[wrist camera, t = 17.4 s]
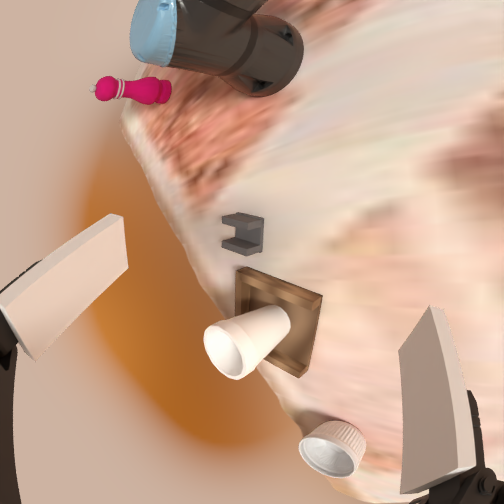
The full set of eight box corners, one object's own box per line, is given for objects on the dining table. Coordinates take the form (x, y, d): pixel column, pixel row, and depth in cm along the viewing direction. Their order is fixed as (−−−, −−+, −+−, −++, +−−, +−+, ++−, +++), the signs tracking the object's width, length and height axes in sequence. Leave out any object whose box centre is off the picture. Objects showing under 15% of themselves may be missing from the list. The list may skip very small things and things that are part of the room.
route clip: (237, 243, 53) (221, 248, 50) (238, 212, 51) (222, 215, 48) (262, 251, 49) (246, 257, 46) (263, 218, 47) (247, 221, 44)
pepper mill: (174, 96, 56) (94, 92, 42) (159, 110, 61) (85, 110, 47) (171, 73, 55) (94, 66, 41) (156, 87, 60) (85, 84, 46)
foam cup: (299, 348, 47) (249, 387, 38) (259, 337, 54) (210, 368, 44) (295, 300, 46) (241, 334, 36) (254, 292, 52) (199, 319, 43)
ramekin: (306, 429, 52) (288, 448, 47) (337, 405, 45) (317, 428, 40) (347, 462, 46) (331, 483, 41) (384, 443, 39) (369, 468, 34)
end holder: (244, 335, 58) (234, 341, 56) (247, 266, 52) (235, 270, 50) (307, 370, 48) (298, 378, 46) (322, 295, 42) (313, 302, 40)
